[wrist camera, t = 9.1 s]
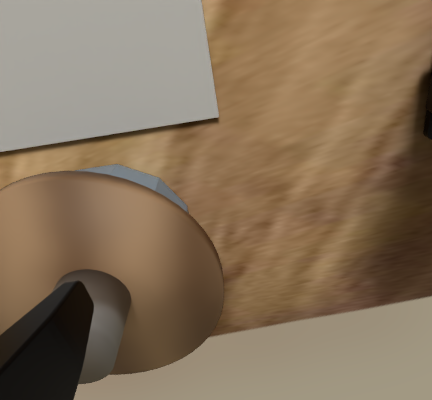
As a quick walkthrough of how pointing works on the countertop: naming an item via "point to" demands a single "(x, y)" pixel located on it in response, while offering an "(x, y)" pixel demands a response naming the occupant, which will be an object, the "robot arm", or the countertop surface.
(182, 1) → the mat
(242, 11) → the countertop surface
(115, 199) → the lid
